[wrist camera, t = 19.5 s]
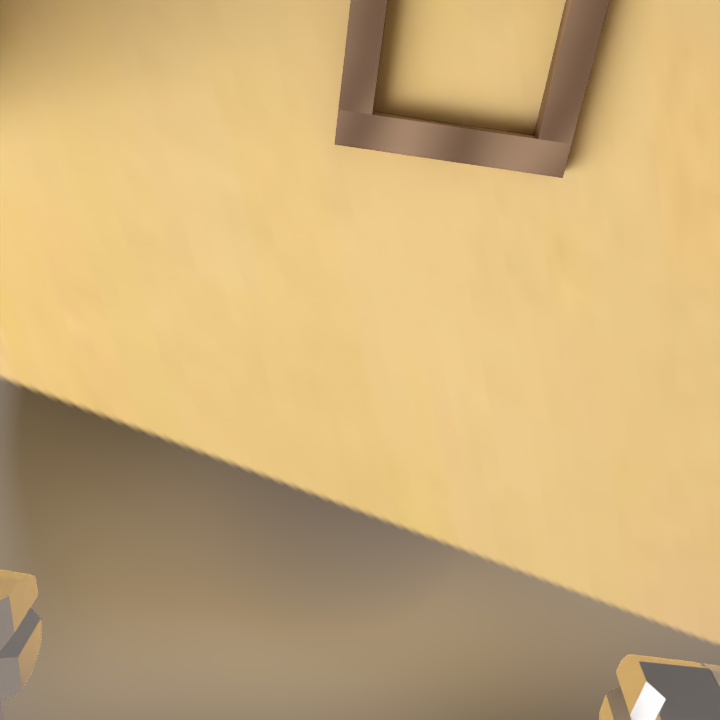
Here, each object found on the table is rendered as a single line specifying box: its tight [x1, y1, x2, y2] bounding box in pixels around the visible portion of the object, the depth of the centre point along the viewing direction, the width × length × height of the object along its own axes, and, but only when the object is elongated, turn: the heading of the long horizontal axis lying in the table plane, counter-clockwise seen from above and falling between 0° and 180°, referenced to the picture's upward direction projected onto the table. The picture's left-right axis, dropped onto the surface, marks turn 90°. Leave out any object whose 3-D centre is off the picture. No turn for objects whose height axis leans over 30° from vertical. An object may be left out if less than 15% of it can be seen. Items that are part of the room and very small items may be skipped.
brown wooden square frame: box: [335, 0, 609, 178], centre depth 38 cm, size 14×14×2 cm
